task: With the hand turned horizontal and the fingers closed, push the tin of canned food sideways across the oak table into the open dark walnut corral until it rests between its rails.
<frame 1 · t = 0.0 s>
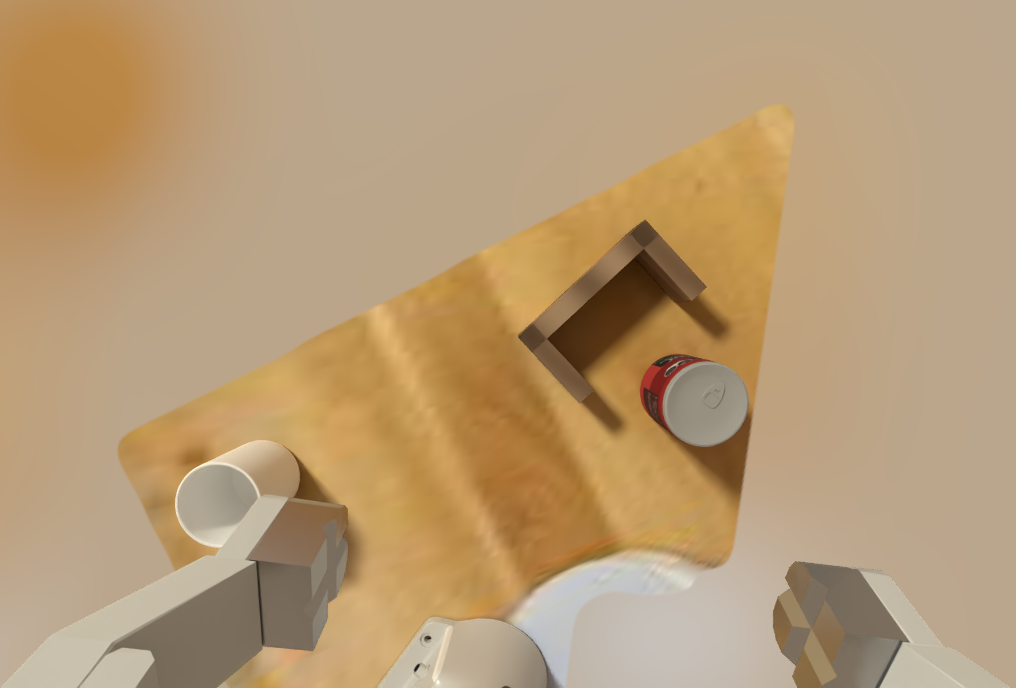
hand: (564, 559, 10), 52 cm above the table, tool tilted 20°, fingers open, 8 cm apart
corral: (612, 322, 62), on the table
canned food: (672, 388, 63), on the table
cup: (277, 486, 64), on the table
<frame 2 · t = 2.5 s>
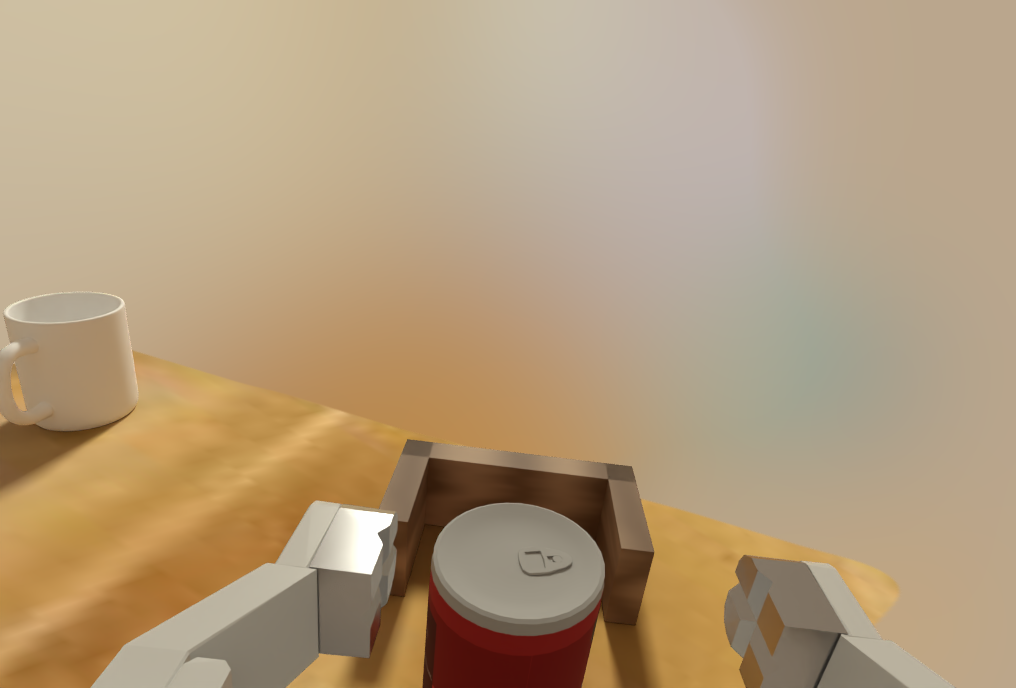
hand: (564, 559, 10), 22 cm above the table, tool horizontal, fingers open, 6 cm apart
corral: (506, 573, 39), on the table
cup: (71, 421, 51), on the table
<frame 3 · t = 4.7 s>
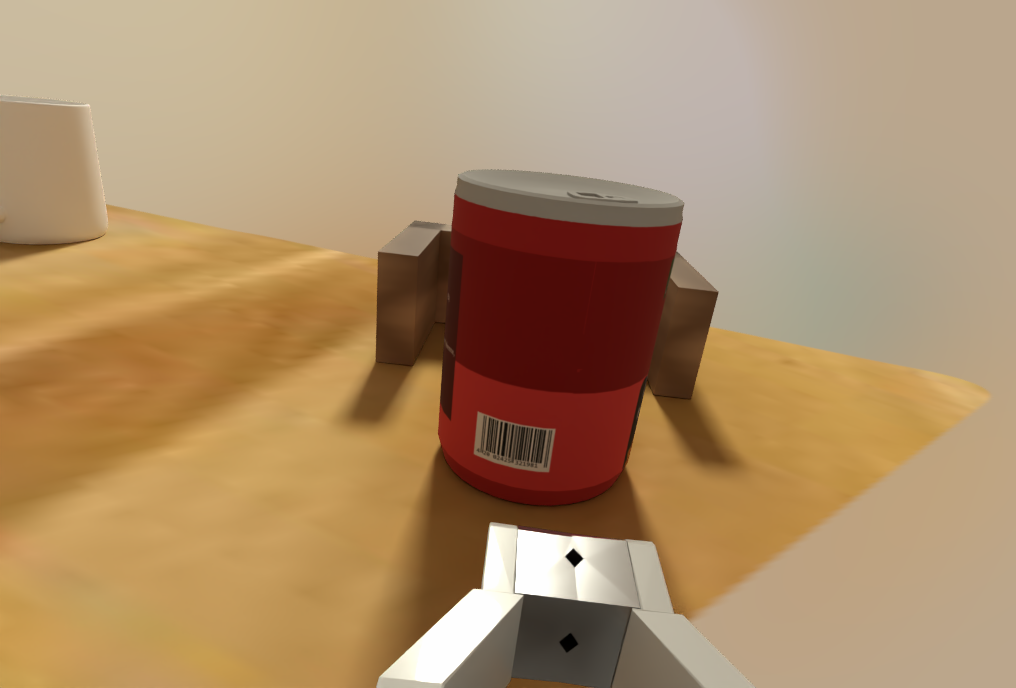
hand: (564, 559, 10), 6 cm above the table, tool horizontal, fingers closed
corral: (533, 358, 33), on the table
canned food: (530, 456, 24), on the table
cup: (29, 240, 44), on the table
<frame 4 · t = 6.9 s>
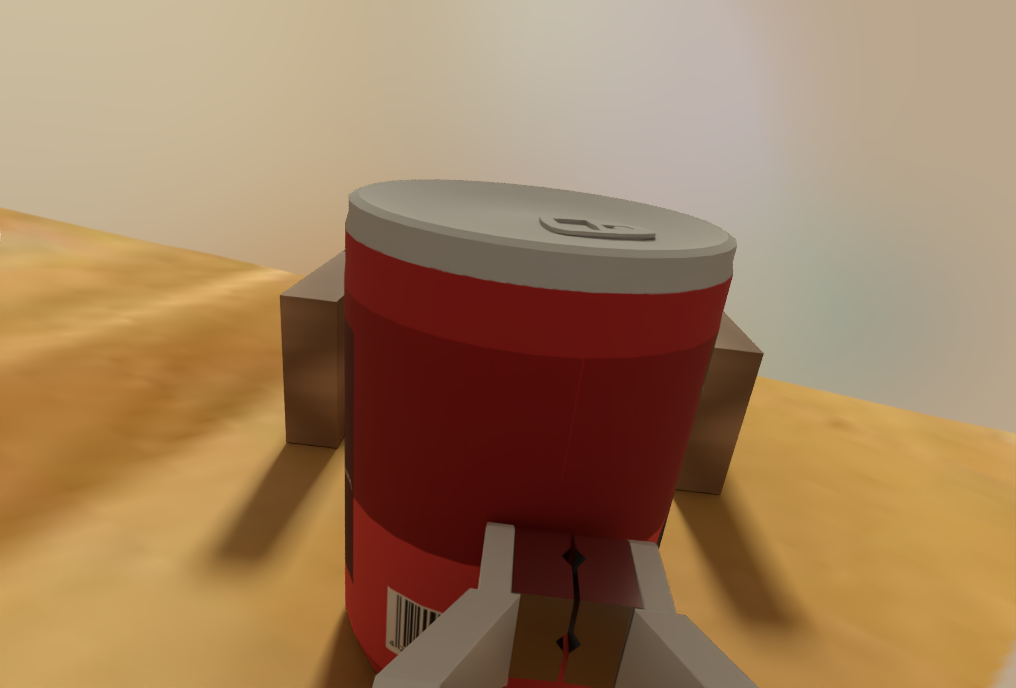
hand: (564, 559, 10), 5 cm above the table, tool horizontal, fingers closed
corral: (506, 428, 25), on the table
canned food: (490, 606, 16), on the table, touching gripper
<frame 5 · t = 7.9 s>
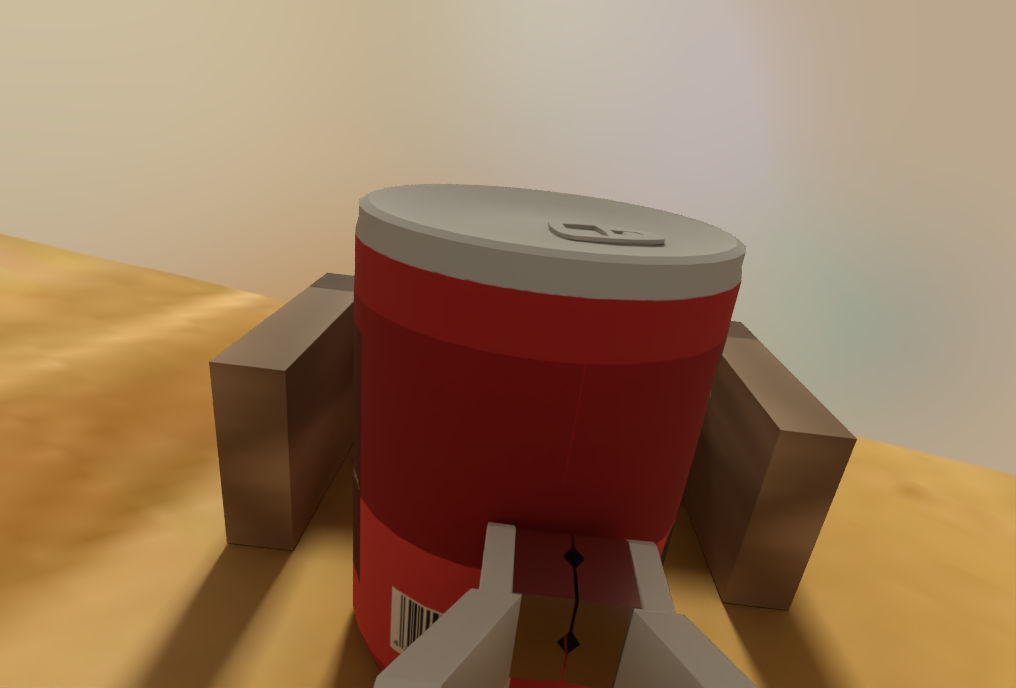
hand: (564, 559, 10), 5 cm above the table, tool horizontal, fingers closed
corral: (511, 511, 20), on the table
canned food: (497, 609, 16), on the table, touching gripper
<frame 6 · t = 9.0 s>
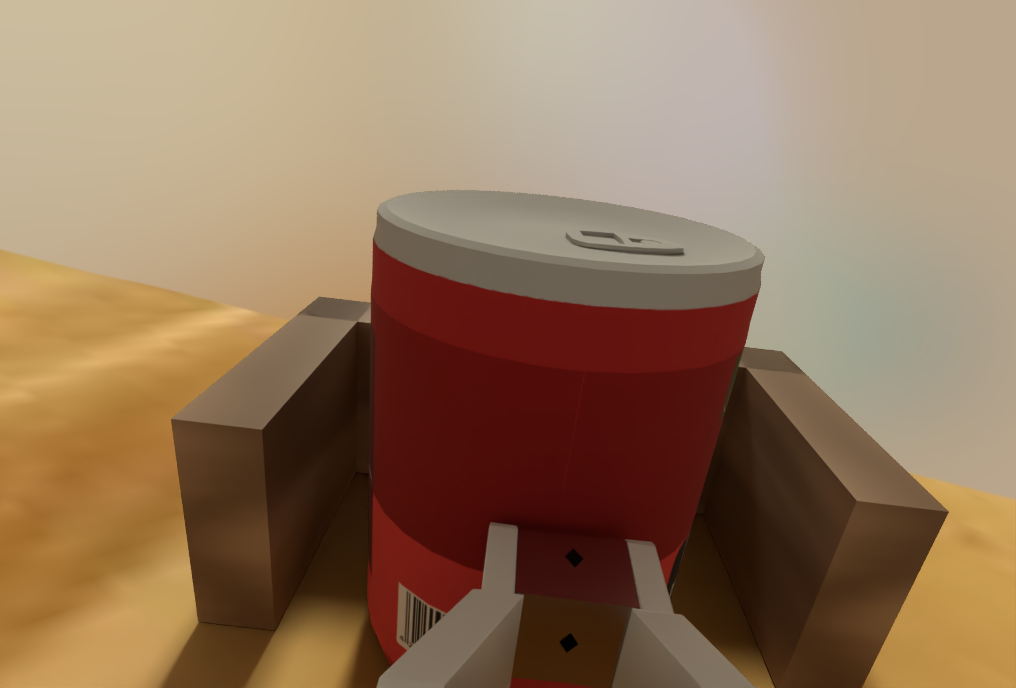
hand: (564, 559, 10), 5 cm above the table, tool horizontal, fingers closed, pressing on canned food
corral: (527, 573, 17), on the table
canned food: (510, 614, 16), on the table, touching gripper
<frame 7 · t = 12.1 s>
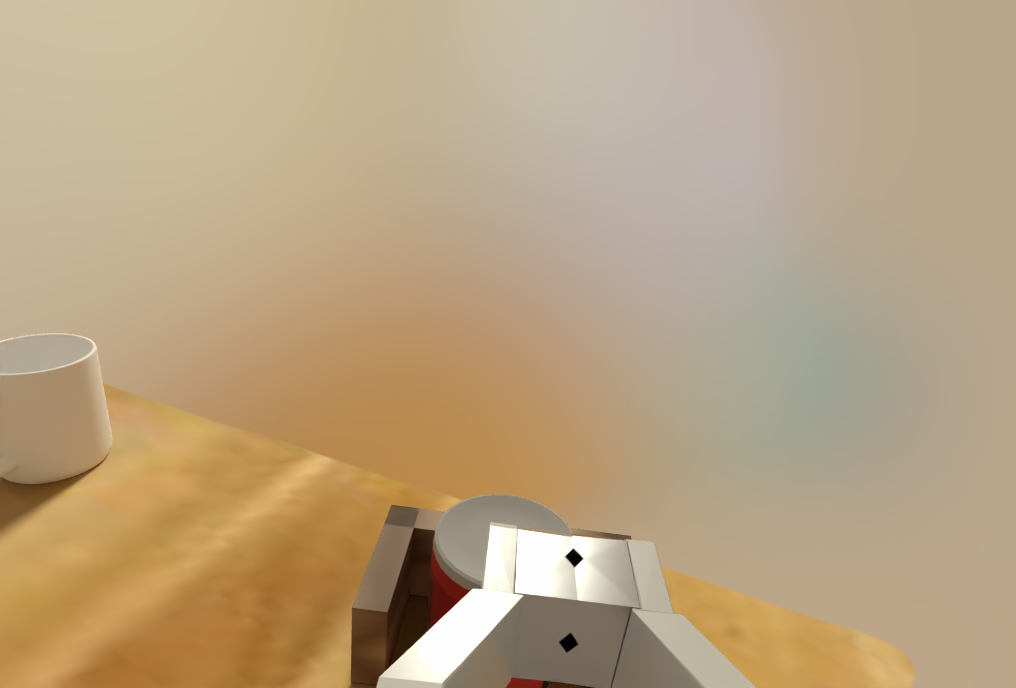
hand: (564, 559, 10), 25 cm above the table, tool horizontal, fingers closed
corral: (495, 656, 37), on the table
canned food: (486, 677, 35), on the table
cup: (39, 471, 48), on the table
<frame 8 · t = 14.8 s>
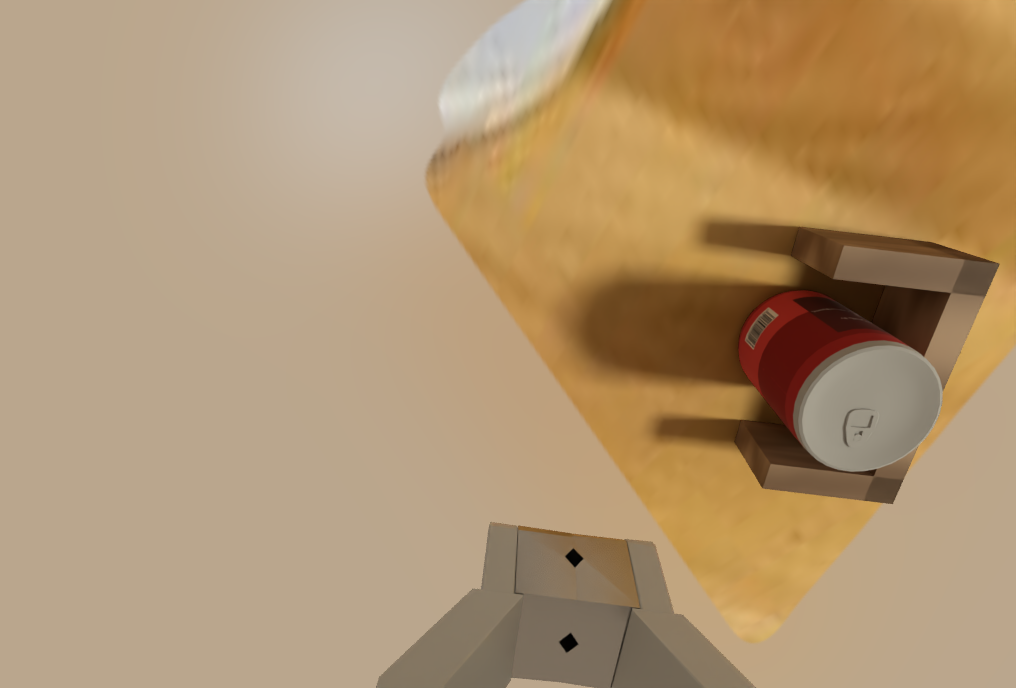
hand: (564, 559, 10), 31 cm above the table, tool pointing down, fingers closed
corral: (805, 347, 41), on the table
canned food: (787, 338, 41), on the table
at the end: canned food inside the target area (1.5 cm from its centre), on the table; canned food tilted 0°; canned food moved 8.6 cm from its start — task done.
